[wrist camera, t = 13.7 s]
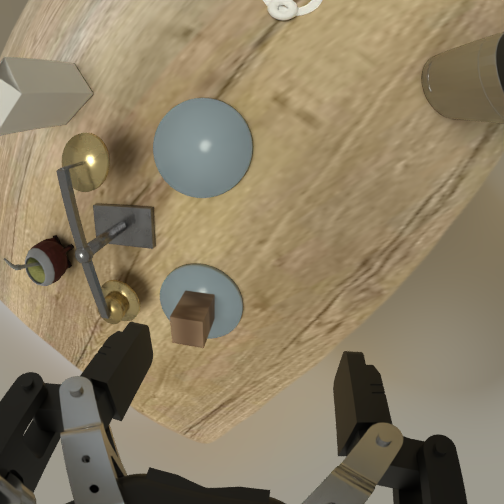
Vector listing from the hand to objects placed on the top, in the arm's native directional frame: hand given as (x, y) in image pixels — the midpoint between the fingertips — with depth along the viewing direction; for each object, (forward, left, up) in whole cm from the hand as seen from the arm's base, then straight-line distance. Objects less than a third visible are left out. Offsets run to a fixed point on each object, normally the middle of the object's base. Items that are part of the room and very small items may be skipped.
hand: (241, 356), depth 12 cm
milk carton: (+32, -14, -30) cm, 46 cm away
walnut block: (+10, +18, -29) cm, 36 cm away
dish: (+10, +18, -30) cm, 36 cm away
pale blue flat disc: (+10, -5, -30) cm, 32 cm away
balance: (+22, +7, -30) cm, 38 cm away
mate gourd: (+36, +12, -30) cm, 49 cm away
